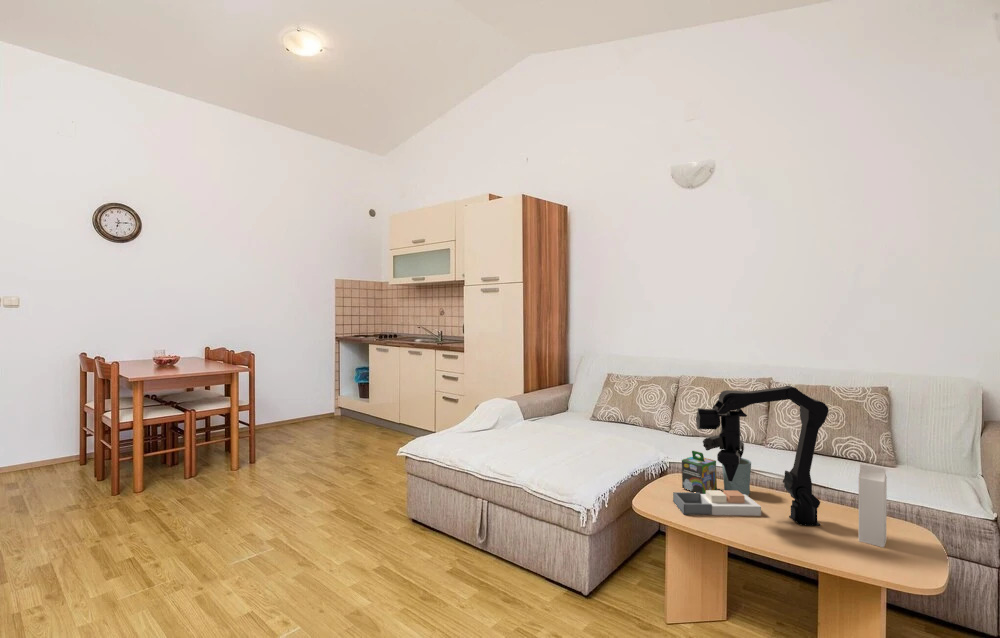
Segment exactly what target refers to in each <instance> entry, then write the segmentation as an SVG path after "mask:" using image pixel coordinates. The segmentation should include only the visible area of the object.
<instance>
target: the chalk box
mask: <svg viewBox="0 0 1000 638" xmlns="http://www.w3.org/2000/svg"><path fill="white" fill-rule="evenodd" d="M691 454H692V456H689V457H687V458H683V459H681V484H682V485H681V486H682V487H681V488H685V489H688V490H690V491H689V492H691V491H693V492H696V493H700V494H706V490H718V489H717V488H718V486H717V485H718V484H717V460H714V459H711V458H707V457H704V454H703V452H700V451H696V450H691ZM698 455H699V456H698ZM685 489H684V490H685ZM688 490H687V491H688Z"/></svg>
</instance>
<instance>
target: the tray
mask: <svg viewBox="0 0 1000 638" xmlns="http://www.w3.org/2000/svg"><path fill="white" fill-rule="evenodd" d="M672 496H673V497H672V502H674V503H675V504H676V505H677V506H676V505H675V504H674V503H673V504H674V505H675V506H676V507H677V508H678V510H679V509H680V510H679V511H680V512H681V514H683V515H684V516H713V515H712V504H702V503H701V502H700V493H694V492H691V491H688V492H683V491H682V492H681V491H680V492H676V491H675V492H673V493H672Z"/></svg>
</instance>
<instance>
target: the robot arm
mask: <svg viewBox="0 0 1000 638" xmlns="http://www.w3.org/2000/svg"><path fill="white" fill-rule="evenodd" d="M786 400H787V401H788V400H790V402H792V403H794V405H796V406H798V407H799V417H800V421H801V422H800V423H801V428H800V431H799V432H800V433H799V437H798V443H797V446H796V447H797V448H796V453H795V458H794V462H793V467H792V468H791V469H790V471H788V470H784V477H783V480H782V483H783V486H784V489H785V491H787V492H788V494H790V497H791V498H792V500H791V505H790V515H788V517H789V518H790V519H791V520H792V521H793V522H795V523H796V524H797V525H799V526H818V527H819V526H821V522H819V521H818V508H820V505H821V501H820V500H819V499H818V497H816V496H815V495H814V494H813V482H812V478H811V469H812V463H813V459H814V453H815V449H816V445H817V438H818V434H819V430H820V429H821V427H822V426H823V425H824V424H825V422H826V420H827V417H828V415H829V412H830V411H829V407H828V405H827V404H826V403H824V402H823V401H820V400H818V399H815V398H812V397H810V396H808V395H806V394H805V393H803V392H802V391H800V390H799V389H798V388H797V387H794V386H791V385H785V386H781V387H773V388H765V389H757V390H749V391H746V390H745V391H744V390H731V389H730V390H729V389H727V390H726V389H725V390H723V391H721V392H720V394H719V396H718V400H717V401H716V402H715V403H714V405H713V406H712V408H700V407H698V408H697V411H696V416H695V422H696V423H695V424H696V428H697V430H718V429H719V428H720V433H719V435H714V436H709V437H706V438H704V439H702V443H703V444H702V446H703V447H704V449H705V451H710V450H713V449H717V448H719V450H720V451H718V453H717V454H716V457H717V460H716V462H717V461H718V463H720V464H721V465H722V464H723V465H724V467H725V471H726V474H727V478H728V481H732V480H733V478H734V475H735V473H736V470H737V468H738V465H739V463H740V460H741V458H743V455H744V451H745V443H744V442H743V441H742V440H741V436H742V431H741V418H747V417H748V415H747V414H746V413H745V412H744V411H743V410H742V409H744V408H746V407H749V406H750V405H755V404H756V405H757V404H764V403H769V402H772V403H773V402H780V401H786Z"/></svg>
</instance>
